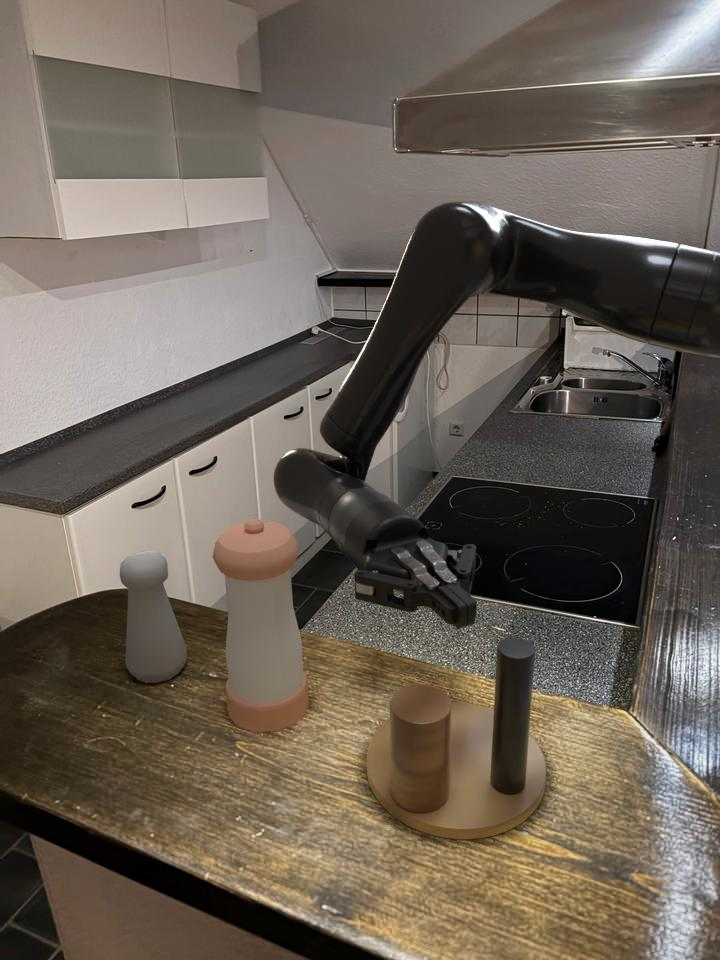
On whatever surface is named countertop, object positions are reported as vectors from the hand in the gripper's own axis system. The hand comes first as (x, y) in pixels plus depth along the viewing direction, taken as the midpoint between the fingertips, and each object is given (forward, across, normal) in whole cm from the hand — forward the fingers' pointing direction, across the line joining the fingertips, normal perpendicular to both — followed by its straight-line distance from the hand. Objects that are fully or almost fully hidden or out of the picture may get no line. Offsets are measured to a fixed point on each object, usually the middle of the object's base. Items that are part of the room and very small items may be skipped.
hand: (467, 616), depth 62 cm
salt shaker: (-19, -23, +11) cm, 32 cm away
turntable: (+5, -4, +10) cm, 12 cm away
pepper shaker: (-9, -15, +11) cm, 21 cm away
